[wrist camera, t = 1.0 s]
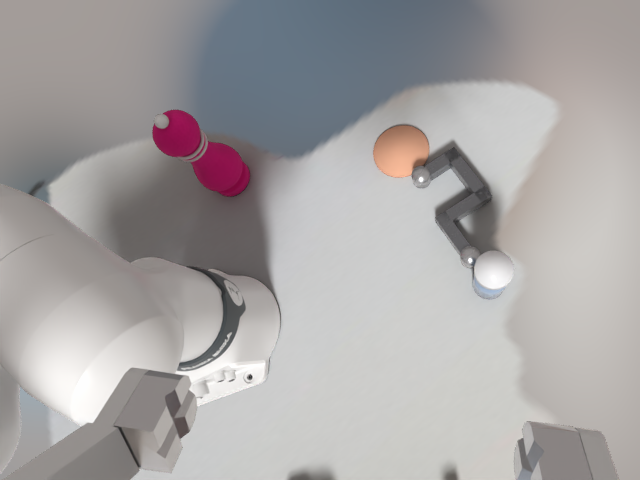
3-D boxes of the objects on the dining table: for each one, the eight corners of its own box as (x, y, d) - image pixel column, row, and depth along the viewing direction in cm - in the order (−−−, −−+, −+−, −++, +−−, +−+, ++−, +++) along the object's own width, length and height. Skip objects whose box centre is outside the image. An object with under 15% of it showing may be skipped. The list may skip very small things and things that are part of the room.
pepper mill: (232, 149, 76) (159, 81, 57) (261, 173, 73) (194, 109, 55) (204, 183, 76) (121, 125, 57) (232, 208, 73) (155, 156, 55)
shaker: (484, 306, 59) (489, 294, 49) (465, 279, 60) (466, 263, 50) (511, 289, 59) (522, 274, 48) (492, 263, 60) (498, 243, 50)
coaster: (392, 187, 66) (391, 186, 66) (363, 147, 69) (363, 145, 69) (440, 156, 66) (440, 155, 65) (409, 116, 68) (409, 115, 68)
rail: (467, 271, 61) (467, 268, 58) (404, 182, 66) (402, 176, 64) (521, 238, 60) (523, 233, 58) (452, 151, 65) (452, 143, 63)
